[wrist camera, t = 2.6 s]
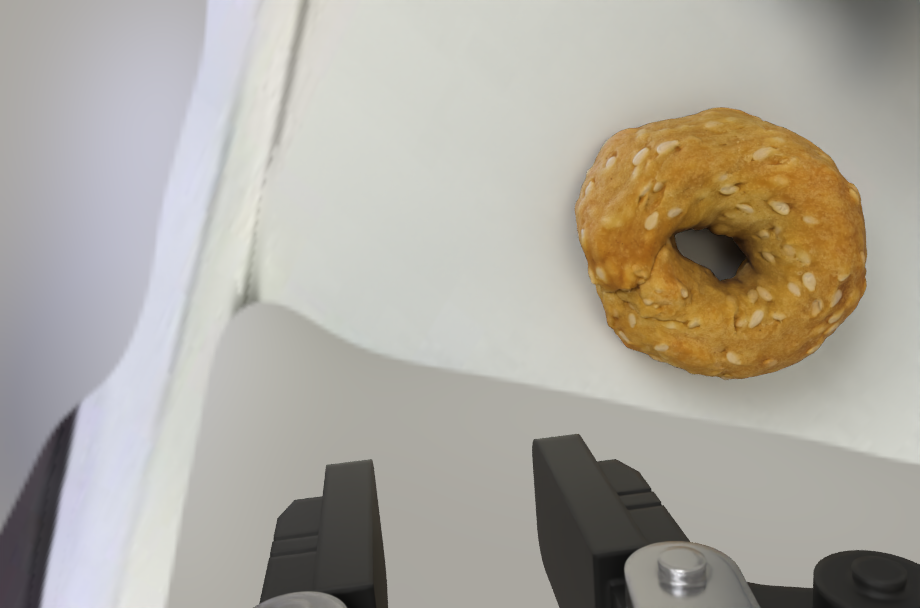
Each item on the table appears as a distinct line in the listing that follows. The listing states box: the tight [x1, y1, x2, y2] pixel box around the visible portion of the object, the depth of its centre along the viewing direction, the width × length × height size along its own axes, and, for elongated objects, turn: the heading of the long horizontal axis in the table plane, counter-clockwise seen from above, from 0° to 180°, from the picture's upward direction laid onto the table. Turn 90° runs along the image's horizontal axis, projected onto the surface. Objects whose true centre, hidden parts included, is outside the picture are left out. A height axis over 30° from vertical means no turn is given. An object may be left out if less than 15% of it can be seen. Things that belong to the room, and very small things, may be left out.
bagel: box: [575, 108, 867, 380], centre depth 30 cm, size 10×11×5 cm
